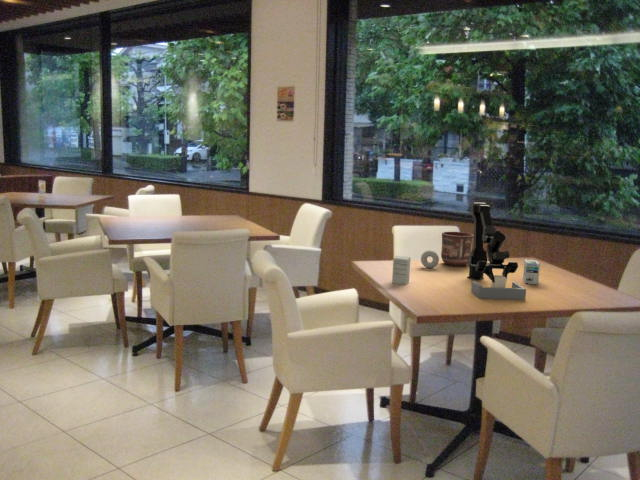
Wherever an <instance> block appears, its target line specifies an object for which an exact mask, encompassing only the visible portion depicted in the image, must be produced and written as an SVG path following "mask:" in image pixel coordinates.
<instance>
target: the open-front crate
mask: <svg viewBox="0 0 640 480" xmlns="http://www.w3.org/2000/svg"><path fill="white" fill-rule="evenodd" d="M470 285H471V288H470V291H471V293H472V294H474V295H475V296H476V297H477V298H478V299H481V300H515V301H516V300H517V301H519V300H521V301H525V300H526V296H527V288H526V287H524V286H522V285H520V284H519V283H517V282H516V281H512V283H511V287H505V288H493V287H491V286H490V287H489V286H482V285H481V284H480V283H479V282H477V280H471V284H470Z"/></svg>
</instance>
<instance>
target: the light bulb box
mask: <svg viewBox="0 0 640 480" xmlns="http://www.w3.org/2000/svg"><path fill="white" fill-rule="evenodd" d="M540 268H541V263H540V262H539V261H538V260H534V259H524V265H523V275H522V281H523V282H524V284H526V283H528V285H529V284H530V285H531V284H532V285H539V281H540V280H539V279H540V278H539V277H540Z"/></svg>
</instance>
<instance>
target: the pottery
mask: <svg viewBox="0 0 640 480" xmlns="http://www.w3.org/2000/svg"><path fill="white" fill-rule="evenodd" d="M473 243H474V233H469V232H462V231H444V232H441V252H440V256H441V259H442V260H441V261H442V262H443V263H444V265H446V266H450V267H457V266H459V267H460V266H461V267H465V266H467V261H468V259H469V257H470V254H471V251H472V250H473V248H472V247H473Z"/></svg>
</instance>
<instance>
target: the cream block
mask: <svg viewBox="0 0 640 480" xmlns="http://www.w3.org/2000/svg"><path fill="white" fill-rule="evenodd" d="M493 275H494V280H495V282H494V283H493V282H492V281H491V284H490V287H493V288H507V287H506V286H507V285H506V284H507V280H506V277H504V276H503V275H502V274H501V275H500V274H499V275H498V274H497V275H496V274H493Z"/></svg>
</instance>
